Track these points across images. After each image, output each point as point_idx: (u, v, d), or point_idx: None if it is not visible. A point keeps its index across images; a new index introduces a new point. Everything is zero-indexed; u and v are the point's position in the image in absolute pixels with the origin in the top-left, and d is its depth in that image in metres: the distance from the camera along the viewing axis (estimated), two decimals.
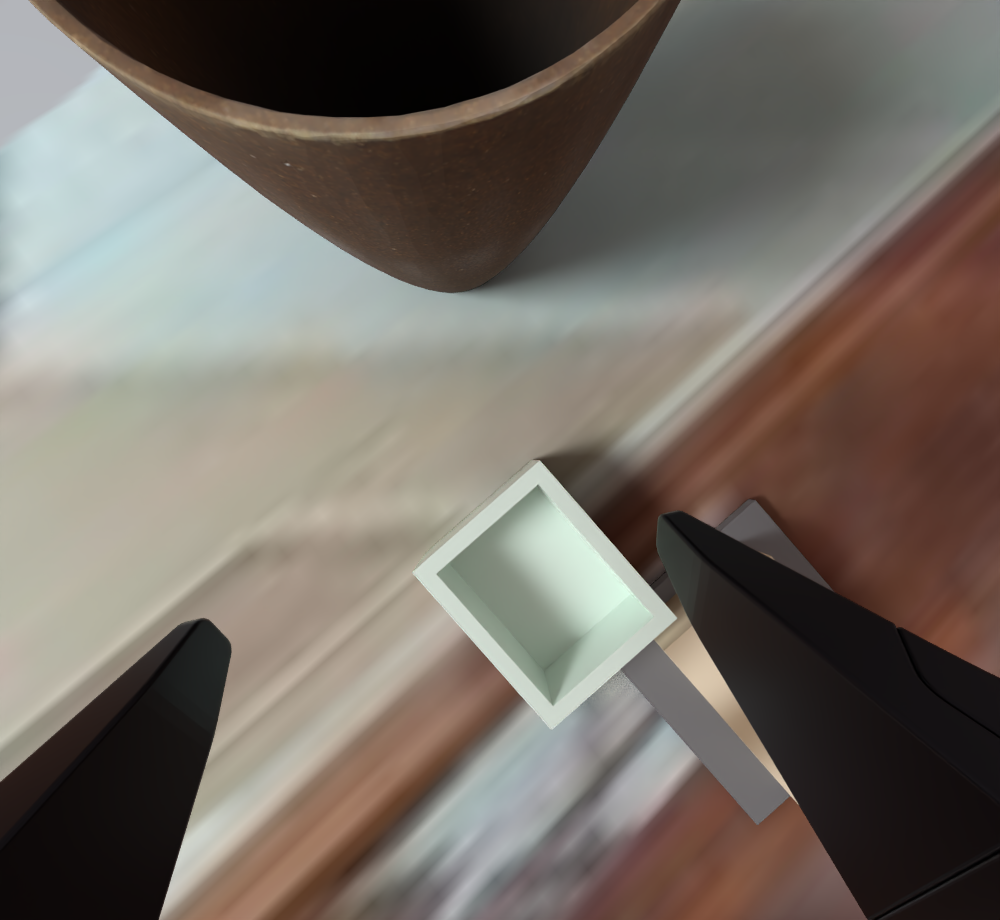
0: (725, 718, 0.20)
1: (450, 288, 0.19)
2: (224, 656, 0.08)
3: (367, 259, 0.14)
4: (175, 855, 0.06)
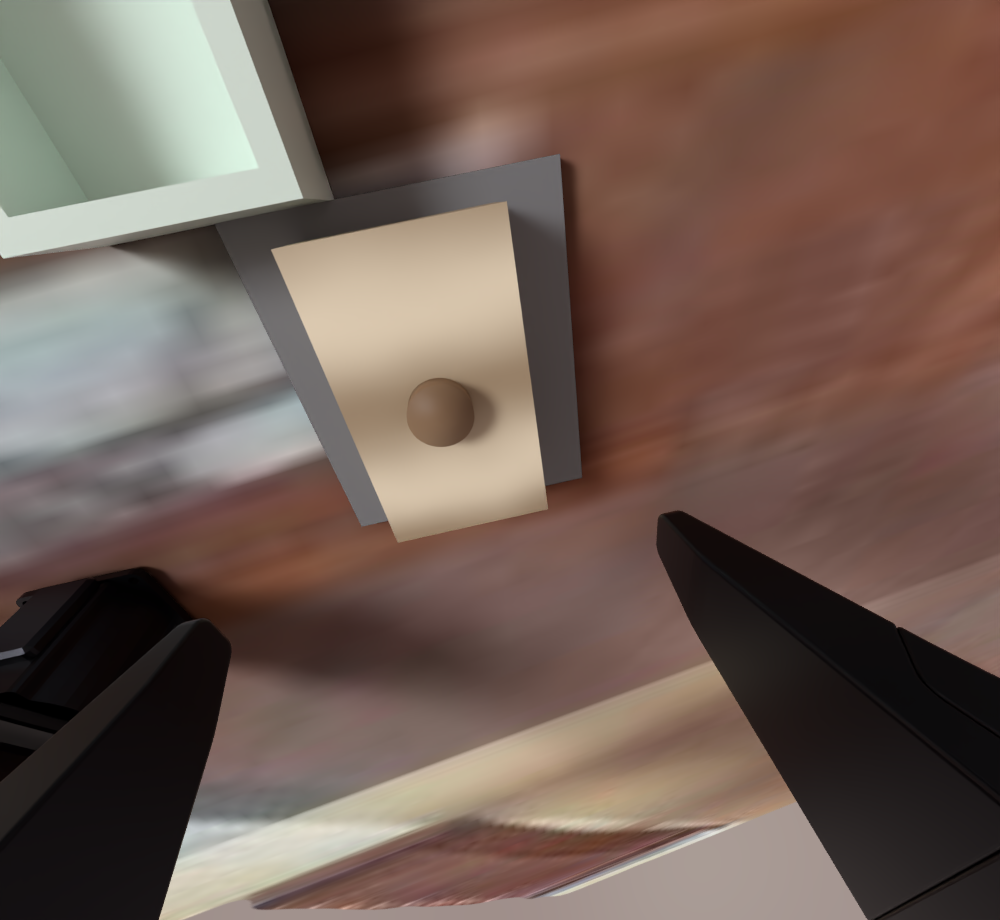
0: (334, 391, 0.14)
1: None
2: (224, 656, 0.08)
3: None
4: (175, 855, 0.06)
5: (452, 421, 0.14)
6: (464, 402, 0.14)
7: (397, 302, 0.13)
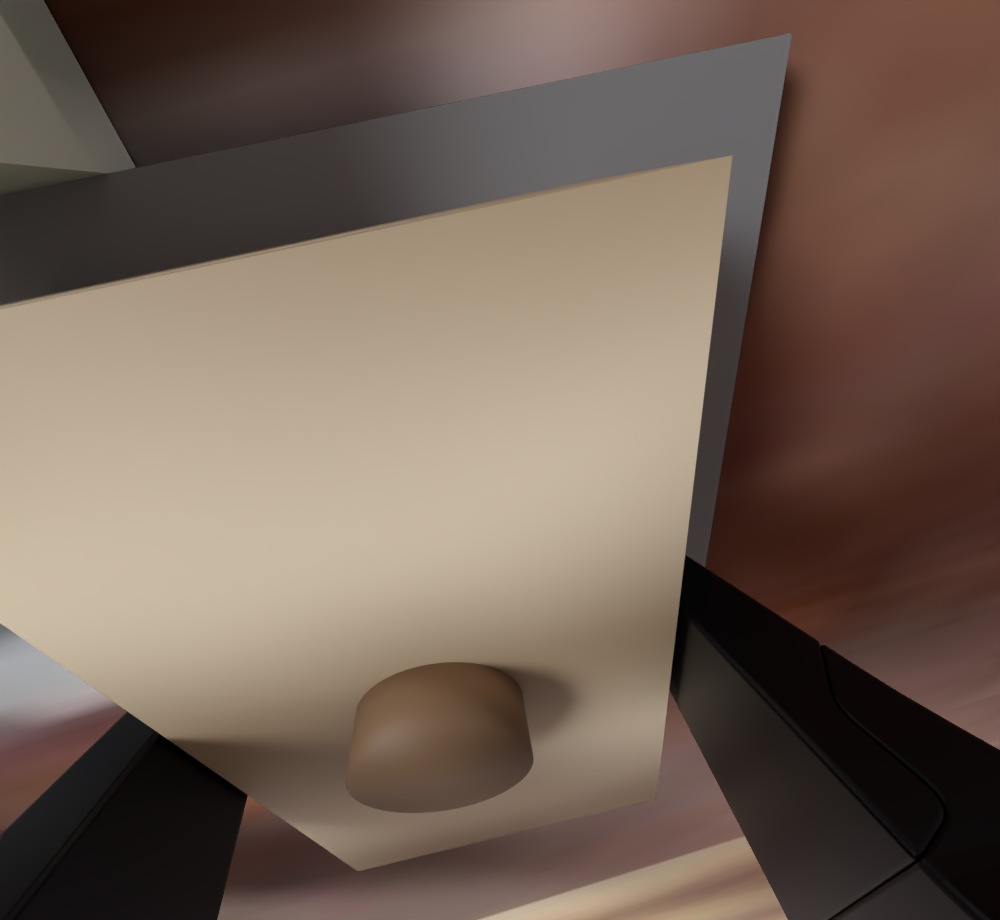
0: (142, 717, 0.05)
1: None
2: None
3: None
4: (233, 841, 0.06)
5: (475, 775, 0.05)
6: (509, 745, 0.05)
7: (292, 519, 0.04)
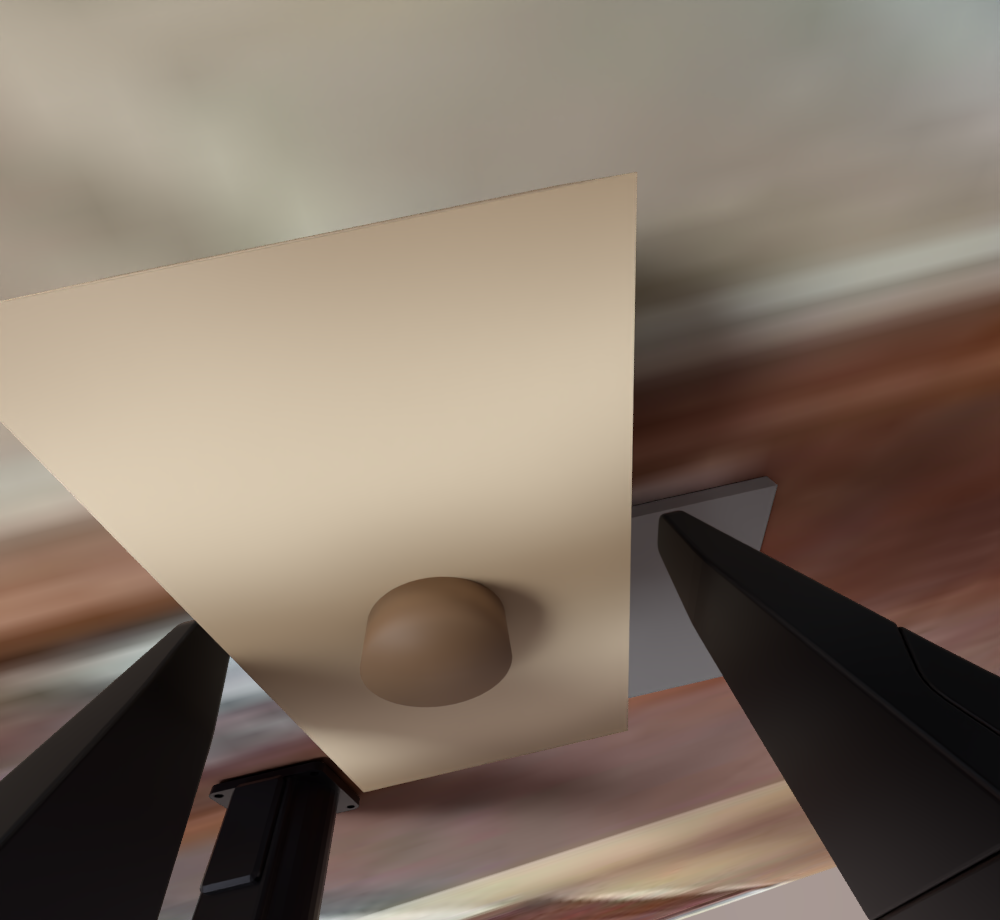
0: (196, 616, 0.06)
1: None
2: (223, 656, 0.08)
3: None
4: (174, 855, 0.06)
5: (464, 669, 0.07)
6: (491, 640, 0.06)
7: (324, 442, 0.05)
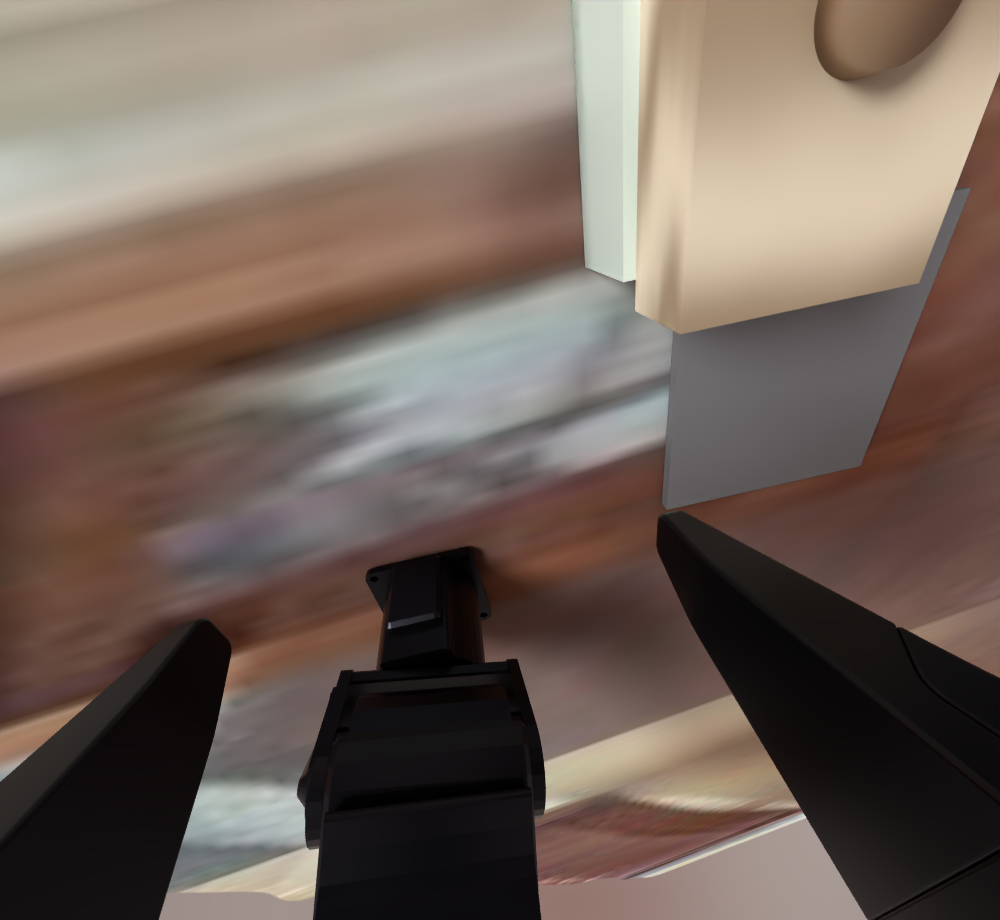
0: None
1: None
2: (224, 656, 0.08)
3: None
4: (175, 855, 0.06)
5: None
6: None
7: None
